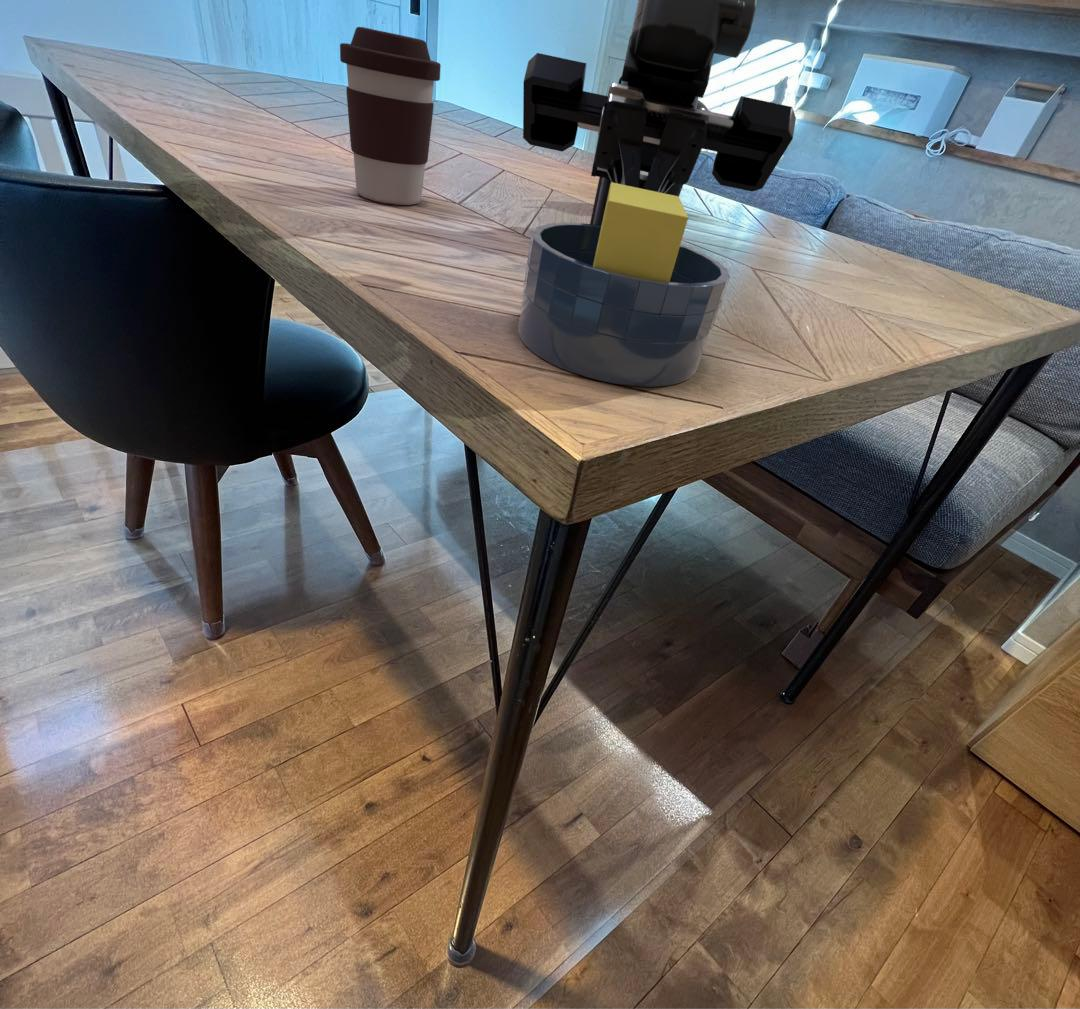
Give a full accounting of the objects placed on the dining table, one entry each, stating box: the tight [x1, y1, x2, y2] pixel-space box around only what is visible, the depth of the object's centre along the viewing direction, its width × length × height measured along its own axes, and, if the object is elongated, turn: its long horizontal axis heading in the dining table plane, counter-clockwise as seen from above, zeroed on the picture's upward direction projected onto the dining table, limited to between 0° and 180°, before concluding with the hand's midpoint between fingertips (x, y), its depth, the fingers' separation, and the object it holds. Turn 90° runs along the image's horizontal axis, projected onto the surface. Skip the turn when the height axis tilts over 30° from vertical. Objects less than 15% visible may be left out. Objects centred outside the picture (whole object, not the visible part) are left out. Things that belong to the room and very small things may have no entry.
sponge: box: [593, 182, 689, 282], centre depth 37 cm, size 7×4×7 cm, turn 173°
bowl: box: [517, 222, 731, 388], centre depth 41 cm, size 13×13×6 cm
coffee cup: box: [339, 26, 442, 206], centre depth 63 cm, size 10×10×15 cm
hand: (631, 230), depth 41 cm, fingers closed
